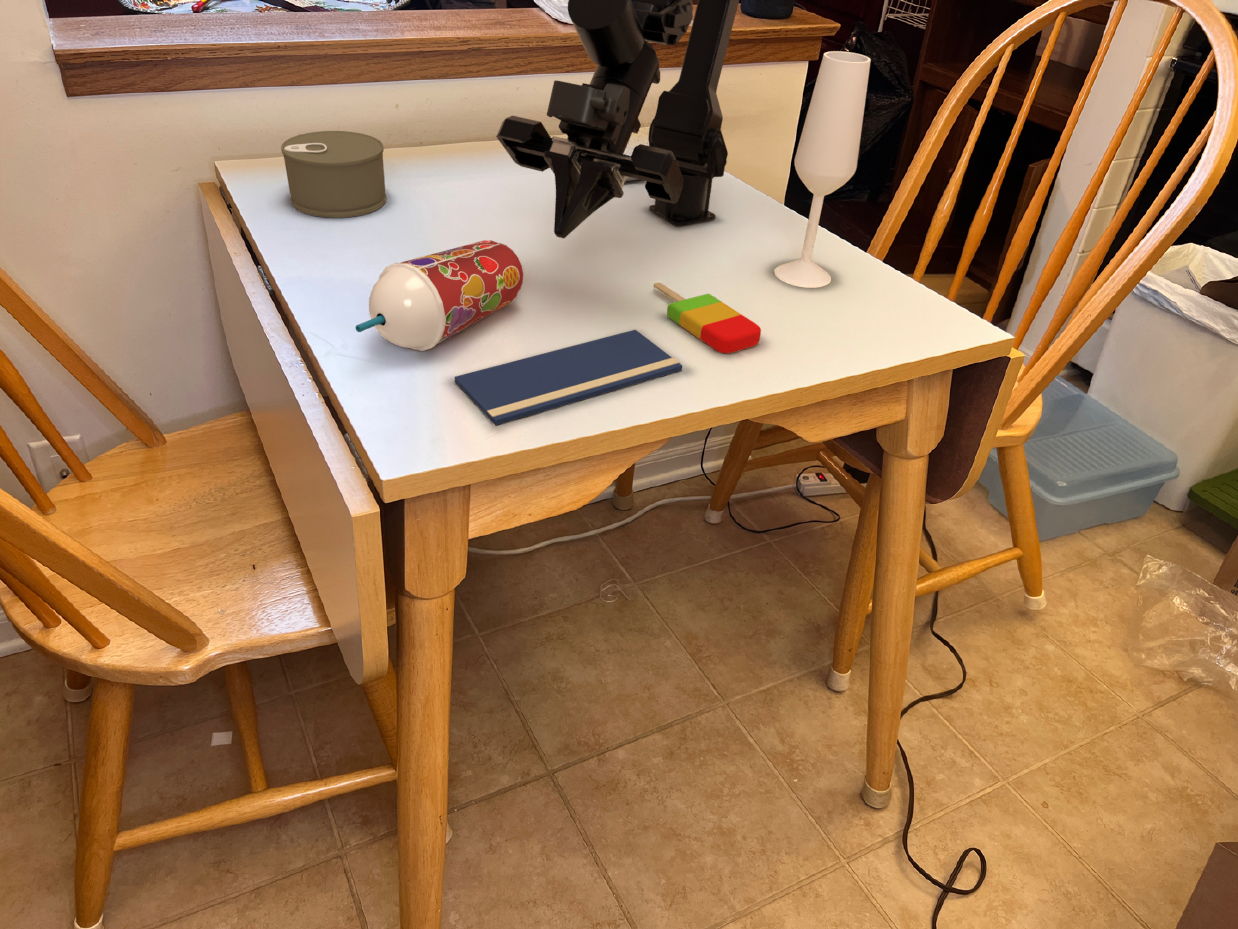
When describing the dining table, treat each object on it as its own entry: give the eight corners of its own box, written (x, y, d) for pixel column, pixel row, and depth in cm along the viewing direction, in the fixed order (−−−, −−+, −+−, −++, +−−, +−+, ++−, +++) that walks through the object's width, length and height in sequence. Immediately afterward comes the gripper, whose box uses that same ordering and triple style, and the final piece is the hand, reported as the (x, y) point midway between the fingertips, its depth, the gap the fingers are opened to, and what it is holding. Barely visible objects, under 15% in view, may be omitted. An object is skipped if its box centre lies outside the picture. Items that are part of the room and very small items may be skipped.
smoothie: (473, 218, 94) (322, 268, 79) (537, 244, 91) (392, 301, 76) (470, 293, 99) (326, 353, 84) (531, 319, 95) (392, 387, 81)
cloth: (634, 334, 92) (635, 328, 92) (682, 370, 87) (682, 364, 87) (454, 382, 83) (454, 375, 82) (495, 426, 78) (495, 419, 77)
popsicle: (722, 357, 90) (725, 340, 89) (634, 296, 99) (636, 280, 98) (764, 344, 93) (767, 328, 91) (674, 286, 102) (676, 270, 101)
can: (394, 215, 113) (389, 159, 109) (292, 221, 109) (284, 164, 105) (380, 181, 122) (376, 128, 118) (286, 186, 118) (278, 132, 114)
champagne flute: (796, 258, 111) (838, 46, 96) (842, 277, 107) (893, 60, 93) (762, 272, 107) (800, 53, 92) (809, 293, 103) (856, 68, 89)
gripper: (505, 27, 87) (443, 174, 85) (685, 61, 81) (622, 220, 79) (545, 96, 97) (490, 228, 96) (707, 130, 91) (651, 271, 90)
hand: (558, 235), depth 90 cm, fingers closed
